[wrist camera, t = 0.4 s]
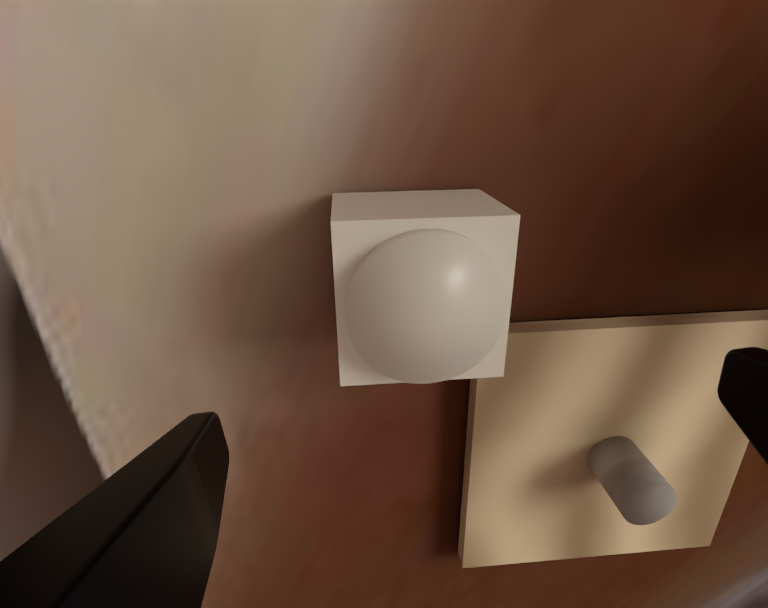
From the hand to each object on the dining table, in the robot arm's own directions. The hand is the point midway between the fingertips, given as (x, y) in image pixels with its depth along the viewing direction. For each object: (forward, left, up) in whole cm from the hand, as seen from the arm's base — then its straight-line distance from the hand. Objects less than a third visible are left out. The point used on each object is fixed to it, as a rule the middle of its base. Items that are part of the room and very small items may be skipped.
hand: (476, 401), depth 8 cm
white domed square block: (0, +1, -11) cm, 11 cm away
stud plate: (-10, +11, -11) cm, 19 cm away
